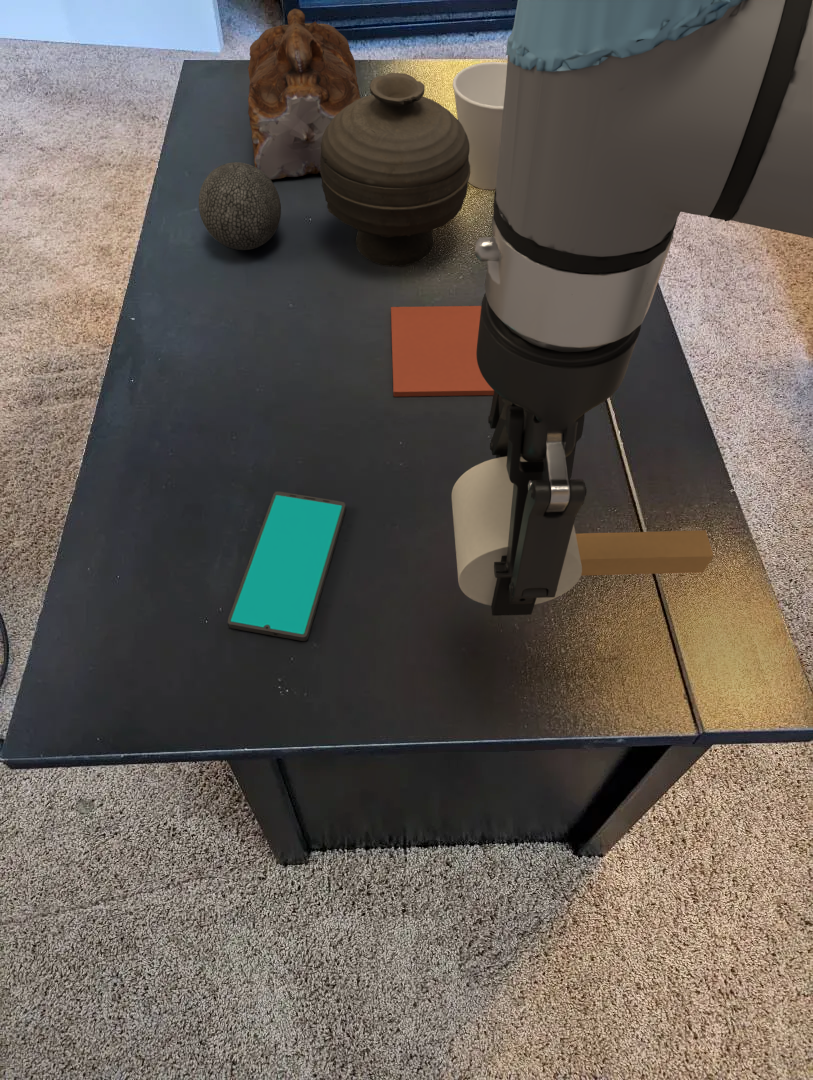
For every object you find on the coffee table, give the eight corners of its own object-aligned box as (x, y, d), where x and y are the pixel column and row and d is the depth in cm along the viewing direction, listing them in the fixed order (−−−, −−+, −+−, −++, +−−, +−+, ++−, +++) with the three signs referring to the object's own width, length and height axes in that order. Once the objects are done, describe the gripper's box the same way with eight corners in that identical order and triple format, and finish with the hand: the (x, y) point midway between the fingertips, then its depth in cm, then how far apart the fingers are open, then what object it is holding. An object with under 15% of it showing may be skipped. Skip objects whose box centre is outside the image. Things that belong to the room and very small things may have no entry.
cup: (429, 176, 107) (433, 84, 97) (482, 143, 112) (491, 52, 102) (495, 211, 103) (506, 118, 93) (547, 174, 108) (563, 82, 97)
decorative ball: (298, 229, 100) (289, 155, 92) (263, 274, 95) (250, 200, 87) (231, 212, 102) (216, 138, 94) (193, 255, 97) (174, 181, 89)
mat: (572, 309, 92) (573, 304, 91) (591, 394, 84) (593, 388, 84) (390, 312, 91) (390, 306, 91) (393, 397, 84) (393, 391, 83)
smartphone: (346, 502, 74) (306, 637, 66) (346, 507, 75) (307, 642, 67) (273, 490, 75) (225, 623, 67) (274, 495, 76) (227, 627, 68)
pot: (494, 223, 100) (502, 65, 83) (421, 307, 93) (412, 154, 76) (383, 182, 106) (368, 26, 89) (305, 258, 99) (273, 105, 82)
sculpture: (219, 166, 102) (222, 90, 113) (336, 227, 112) (328, 152, 123) (284, 34, 90) (281, -36, 101) (409, 116, 100) (393, 44, 111)
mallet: (688, 520, 57) (726, 450, 50) (712, 602, 53) (756, 538, 46) (448, 526, 56) (454, 456, 50) (454, 609, 53) (462, 545, 46)
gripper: (466, 180, 41) (444, 456, 60) (504, 471, 30) (463, 695, 49) (605, 179, 41) (539, 454, 60) (694, 467, 30) (579, 692, 49)
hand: (505, 562), depth 54 cm, fingers closed on mallet, 7 cm apart
